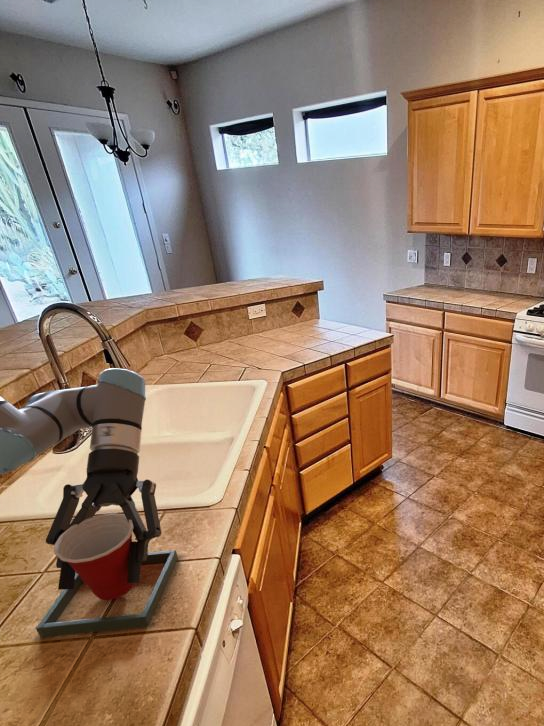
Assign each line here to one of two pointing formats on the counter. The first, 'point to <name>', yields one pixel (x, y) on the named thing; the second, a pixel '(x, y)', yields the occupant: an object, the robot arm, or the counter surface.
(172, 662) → the counter surface
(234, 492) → the counter surface
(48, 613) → the grey square frame
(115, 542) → the plastic cup
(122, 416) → the robot arm
